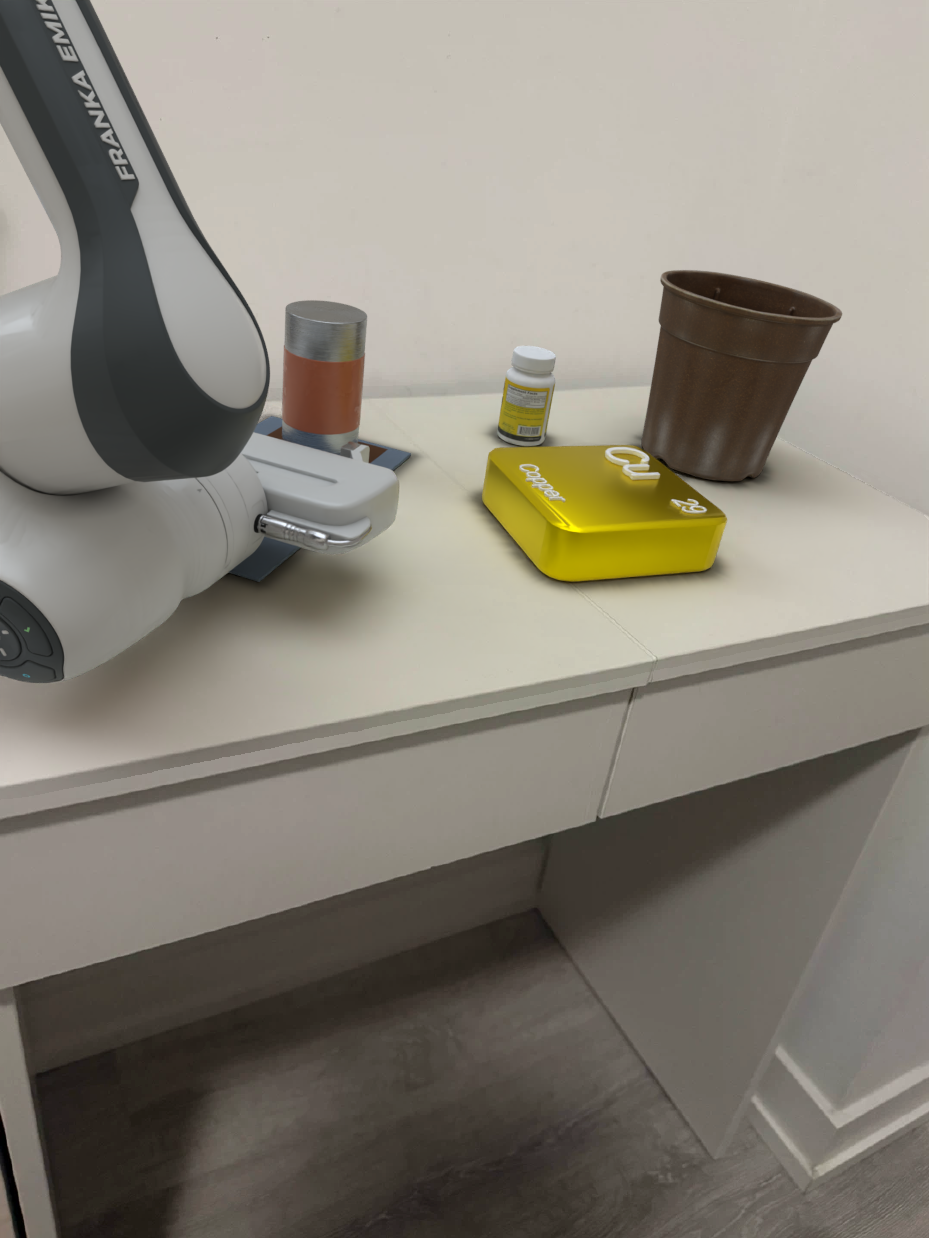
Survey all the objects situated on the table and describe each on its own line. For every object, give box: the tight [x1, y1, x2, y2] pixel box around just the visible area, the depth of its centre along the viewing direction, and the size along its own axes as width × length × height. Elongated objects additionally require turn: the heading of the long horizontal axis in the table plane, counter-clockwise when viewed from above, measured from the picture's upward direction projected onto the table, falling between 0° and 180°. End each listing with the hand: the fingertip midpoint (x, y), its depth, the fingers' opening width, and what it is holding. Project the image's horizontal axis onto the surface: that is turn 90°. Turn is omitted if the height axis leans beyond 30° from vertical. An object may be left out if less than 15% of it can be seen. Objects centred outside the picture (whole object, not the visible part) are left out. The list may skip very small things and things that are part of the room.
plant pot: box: [640, 269, 843, 482], centre depth 86 cm, size 16×16×16 cm
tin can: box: [281, 299, 368, 455], centre depth 75 cm, size 6×6×12 cm
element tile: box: [481, 444, 728, 583], centre depth 72 cm, size 15×15×5 cm
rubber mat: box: [227, 415, 412, 583], centre depth 72 cm, size 14×26×1 cm, turn 160°
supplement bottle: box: [496, 345, 557, 447], centre depth 86 cm, size 5×5×8 cm
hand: (300, 437), depth 66 cm, fingers open, 8 cm apart
